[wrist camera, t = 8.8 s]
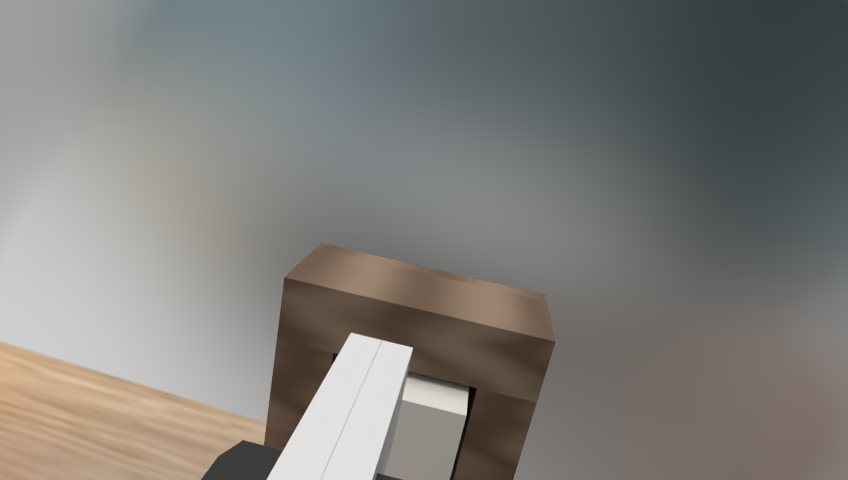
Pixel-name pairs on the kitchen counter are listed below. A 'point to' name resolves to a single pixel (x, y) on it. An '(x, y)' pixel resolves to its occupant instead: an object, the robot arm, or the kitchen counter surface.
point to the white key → (428, 429)
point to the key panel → (416, 345)
